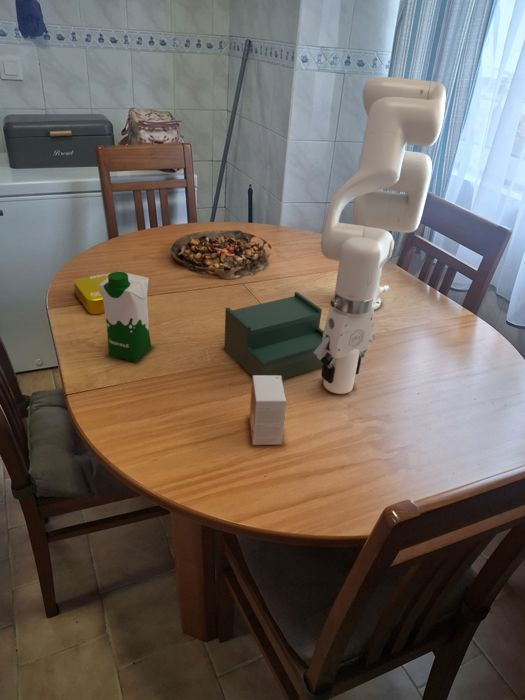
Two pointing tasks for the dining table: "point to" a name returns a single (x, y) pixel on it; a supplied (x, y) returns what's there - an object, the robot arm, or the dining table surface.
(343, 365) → the can
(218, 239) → the food dish
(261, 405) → the small box
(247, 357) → the step rack
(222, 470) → the dining table surface
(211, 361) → the dining table surface
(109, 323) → the milk carton
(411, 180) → the robot arm
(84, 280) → the yellow tin box
